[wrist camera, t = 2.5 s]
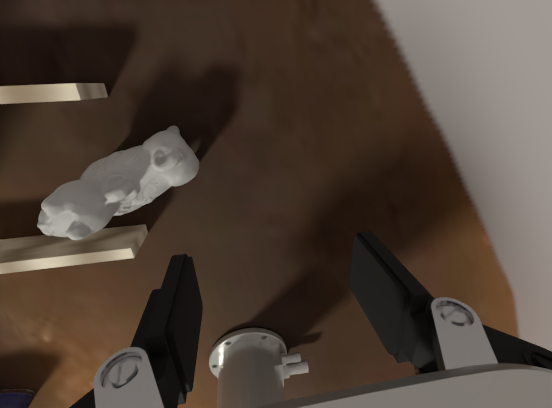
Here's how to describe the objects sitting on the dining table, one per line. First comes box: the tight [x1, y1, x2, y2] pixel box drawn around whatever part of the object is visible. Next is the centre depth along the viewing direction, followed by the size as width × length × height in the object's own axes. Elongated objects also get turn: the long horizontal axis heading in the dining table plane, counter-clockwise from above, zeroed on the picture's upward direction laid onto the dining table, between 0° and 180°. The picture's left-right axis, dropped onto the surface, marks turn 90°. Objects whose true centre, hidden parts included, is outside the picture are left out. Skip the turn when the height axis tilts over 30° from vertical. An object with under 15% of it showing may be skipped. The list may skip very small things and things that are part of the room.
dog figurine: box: [37, 126, 199, 240], centre depth 23 cm, size 5×13×11 cm, turn 115°
